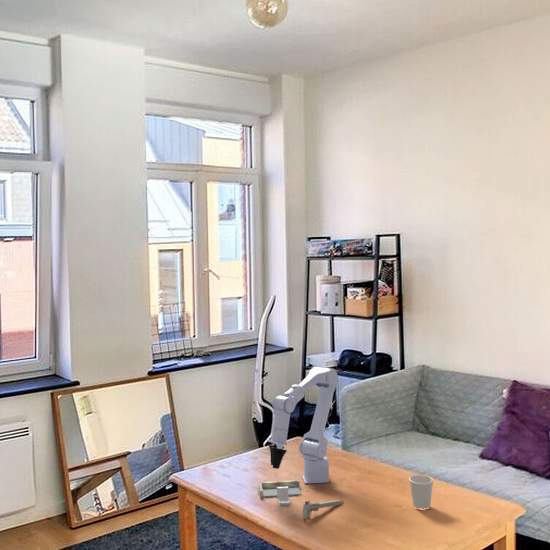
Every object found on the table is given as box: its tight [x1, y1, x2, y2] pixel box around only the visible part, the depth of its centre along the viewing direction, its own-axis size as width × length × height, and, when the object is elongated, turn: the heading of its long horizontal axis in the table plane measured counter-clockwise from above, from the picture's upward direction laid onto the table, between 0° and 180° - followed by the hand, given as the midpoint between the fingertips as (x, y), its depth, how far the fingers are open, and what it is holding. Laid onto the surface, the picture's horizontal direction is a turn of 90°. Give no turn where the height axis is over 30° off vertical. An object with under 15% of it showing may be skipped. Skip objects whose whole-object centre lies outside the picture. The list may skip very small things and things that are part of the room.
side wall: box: [258, 482, 263, 499], centre depth 246 cm, size 1×8×2 cm, turn 6°
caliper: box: [302, 499, 344, 521], centre depth 229 cm, size 20×1×6 cm, turn 135°
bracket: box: [276, 486, 291, 506], centre depth 238 cm, size 6×4×4 cm, turn 5°
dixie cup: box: [408, 474, 435, 509], centre depth 230 cm, size 8×8×10 cm
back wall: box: [259, 479, 301, 488], centre depth 251 cm, size 15×1×2 cm, turn 95°
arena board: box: [262, 486, 302, 498], centre depth 247 cm, size 14×8×1 cm, turn 95°
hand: (274, 466), depth 242 cm, fingers open, 7 cm apart
